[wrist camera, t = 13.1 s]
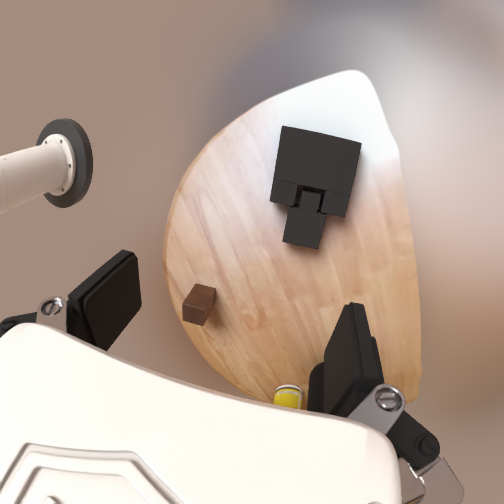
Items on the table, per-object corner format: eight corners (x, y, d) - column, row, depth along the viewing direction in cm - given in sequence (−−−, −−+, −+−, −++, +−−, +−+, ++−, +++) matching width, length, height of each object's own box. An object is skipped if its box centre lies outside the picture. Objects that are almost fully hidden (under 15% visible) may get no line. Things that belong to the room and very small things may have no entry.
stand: (195, 299, 48) (182, 320, 43) (195, 283, 46) (182, 303, 41) (214, 304, 48) (203, 326, 42) (215, 288, 46) (203, 309, 41)
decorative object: (304, 370, 51) (298, 434, 38) (318, 350, 48) (315, 418, 35) (333, 378, 51) (332, 439, 37) (348, 358, 48) (352, 424, 34)
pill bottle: (270, 388, 55) (261, 428, 46) (293, 380, 53) (287, 423, 43) (286, 401, 57) (279, 440, 47) (308, 393, 54) (304, 435, 45)
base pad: (271, 196, 37) (269, 201, 35) (283, 125, 33) (281, 125, 31) (342, 212, 36) (344, 217, 34) (358, 142, 32) (361, 143, 30)
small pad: (317, 242, 39) (317, 249, 37) (283, 235, 40) (282, 242, 37) (329, 193, 36) (330, 198, 33) (293, 185, 36) (292, 189, 34)
